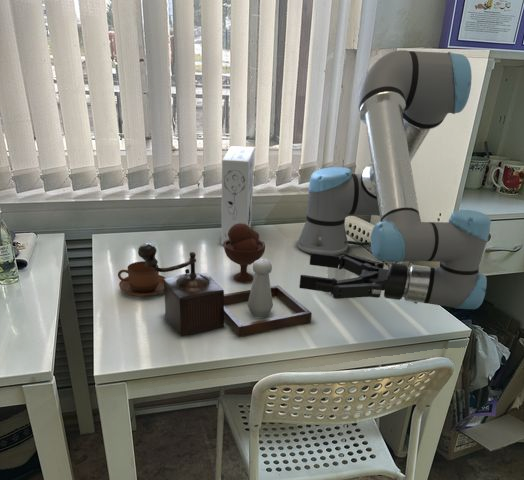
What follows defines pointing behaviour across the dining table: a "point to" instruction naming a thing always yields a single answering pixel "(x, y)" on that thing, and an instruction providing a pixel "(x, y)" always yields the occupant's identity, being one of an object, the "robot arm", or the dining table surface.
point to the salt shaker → (261, 289)
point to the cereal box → (237, 188)
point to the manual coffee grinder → (188, 296)
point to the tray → (268, 324)
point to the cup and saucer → (141, 280)
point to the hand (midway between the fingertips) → (305, 269)
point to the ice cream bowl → (243, 249)
